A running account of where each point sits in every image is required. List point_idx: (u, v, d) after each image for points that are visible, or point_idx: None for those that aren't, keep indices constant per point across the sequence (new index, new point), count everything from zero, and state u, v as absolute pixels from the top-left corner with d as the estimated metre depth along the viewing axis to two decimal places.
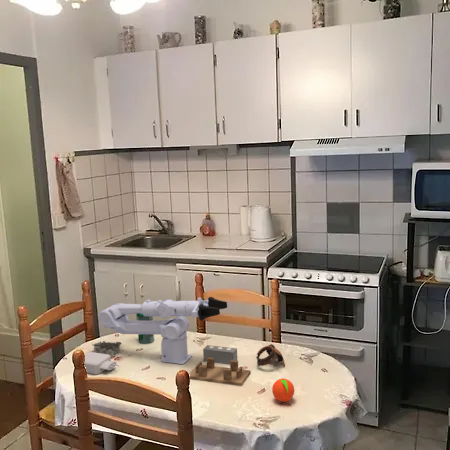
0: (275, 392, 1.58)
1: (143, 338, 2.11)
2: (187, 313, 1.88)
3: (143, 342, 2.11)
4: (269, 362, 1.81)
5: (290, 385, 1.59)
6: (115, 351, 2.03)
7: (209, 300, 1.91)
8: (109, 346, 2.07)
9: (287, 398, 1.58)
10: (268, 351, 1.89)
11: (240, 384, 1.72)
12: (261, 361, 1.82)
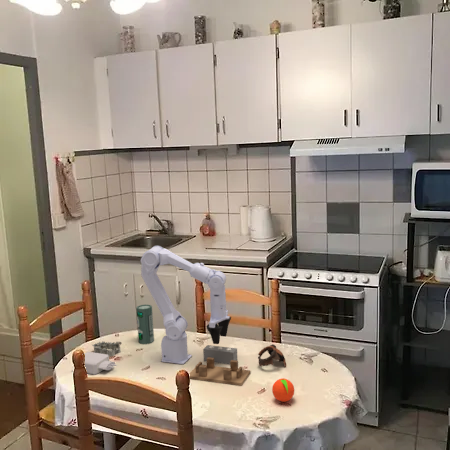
0: (275, 392, 1.58)
1: (143, 338, 2.11)
2: (213, 307, 1.87)
3: (143, 342, 2.11)
4: (271, 362, 1.81)
5: (290, 385, 1.59)
6: (115, 351, 2.03)
7: (227, 319, 1.93)
8: (109, 346, 2.07)
9: (287, 398, 1.58)
10: (269, 351, 1.89)
11: (240, 384, 1.72)
12: (263, 361, 1.82)
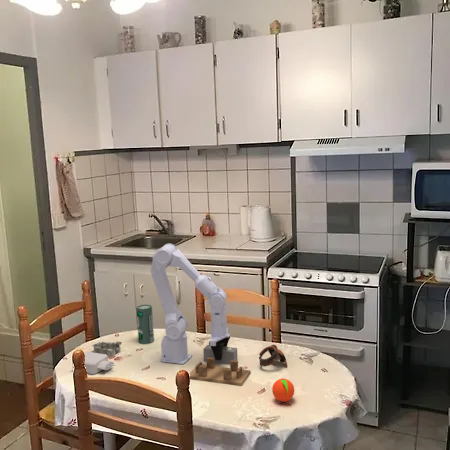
0: (275, 392, 1.58)
1: (143, 338, 2.11)
2: (213, 325, 1.88)
3: (143, 342, 2.11)
4: (272, 362, 1.81)
5: (290, 385, 1.59)
6: (116, 351, 2.03)
7: (226, 338, 1.92)
8: (108, 346, 2.07)
9: (287, 398, 1.58)
10: (270, 351, 1.89)
11: (240, 384, 1.72)
12: (264, 361, 1.82)
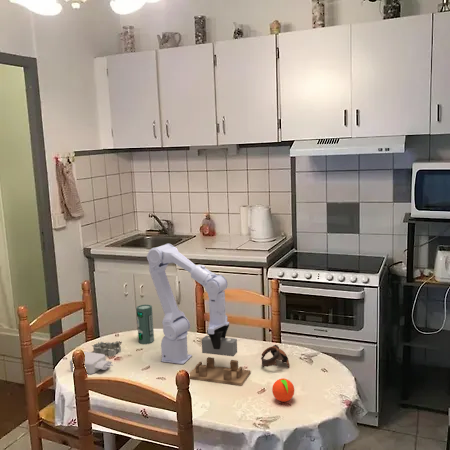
0: (275, 392, 1.58)
1: (143, 338, 2.11)
2: (211, 313, 1.80)
3: (143, 342, 2.11)
4: (274, 363, 1.80)
5: (290, 385, 1.59)
6: (116, 350, 2.04)
7: (225, 327, 1.85)
8: (108, 346, 2.07)
9: (287, 398, 1.58)
10: (272, 352, 1.89)
11: (240, 384, 1.72)
12: (266, 362, 1.82)
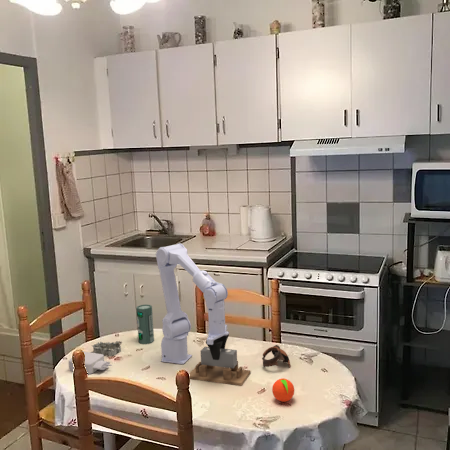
0: (275, 392, 1.58)
1: (143, 338, 2.11)
2: (211, 322, 1.75)
3: (143, 342, 2.11)
4: (275, 363, 1.80)
5: (290, 385, 1.59)
6: (116, 350, 2.04)
7: (224, 336, 1.79)
8: (108, 346, 2.07)
9: (287, 398, 1.58)
10: (273, 352, 1.88)
11: (240, 384, 1.72)
12: (267, 362, 1.81)
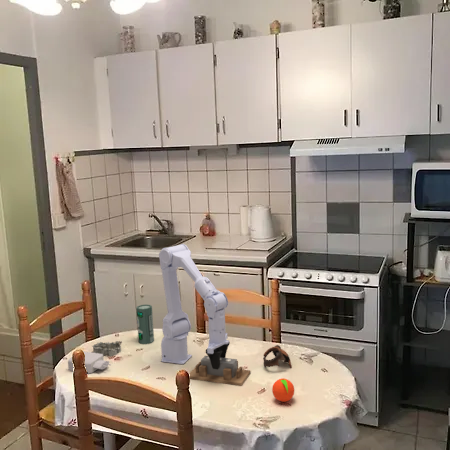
0: (275, 392, 1.58)
1: (143, 338, 2.11)
2: (211, 331, 1.75)
3: (143, 342, 2.11)
4: (276, 363, 1.80)
5: (290, 385, 1.59)
6: (116, 350, 2.04)
7: (225, 344, 1.80)
8: (108, 346, 2.07)
9: (287, 398, 1.58)
10: (274, 352, 1.88)
11: (240, 384, 1.72)
12: (268, 362, 1.81)
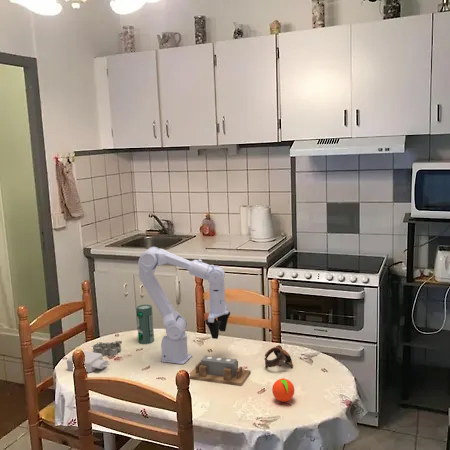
0: (275, 392, 1.58)
1: (143, 338, 2.11)
2: (212, 302, 1.88)
3: (143, 342, 2.11)
4: (278, 363, 1.80)
5: (290, 385, 1.59)
6: (117, 350, 2.04)
7: (226, 314, 1.93)
8: (107, 346, 2.07)
9: (287, 398, 1.58)
10: (276, 352, 1.88)
11: (240, 384, 1.72)
12: (270, 363, 1.81)
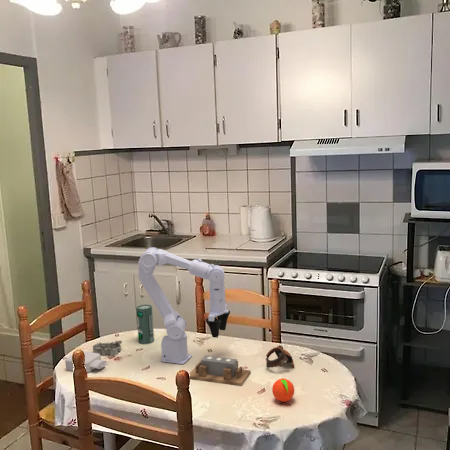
0: (275, 392, 1.58)
1: (143, 338, 2.11)
2: (212, 301, 1.89)
3: (143, 342, 2.11)
4: (279, 364, 1.80)
5: (290, 385, 1.59)
6: (117, 350, 2.04)
7: (226, 313, 1.95)
8: (107, 346, 2.07)
9: (287, 398, 1.58)
10: (277, 352, 1.88)
11: (240, 384, 1.72)
12: (271, 363, 1.81)
